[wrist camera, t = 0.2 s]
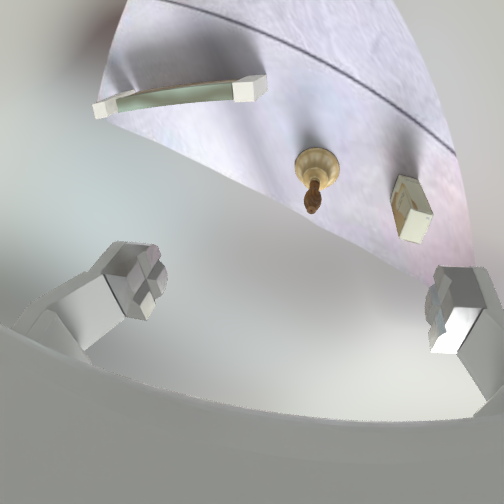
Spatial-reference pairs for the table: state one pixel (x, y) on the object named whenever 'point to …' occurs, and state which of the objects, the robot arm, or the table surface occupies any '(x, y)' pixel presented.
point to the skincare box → (410, 209)
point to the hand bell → (316, 174)
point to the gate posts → (242, 92)
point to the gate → (177, 95)
